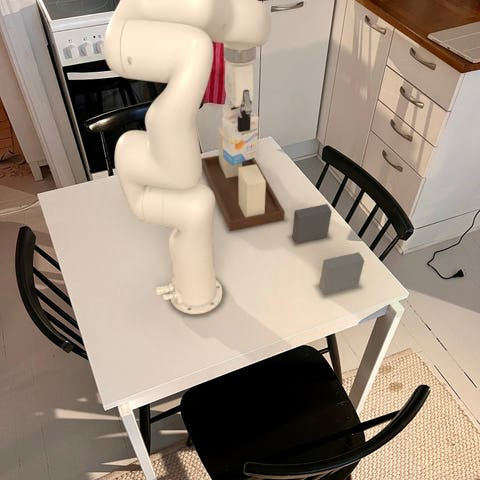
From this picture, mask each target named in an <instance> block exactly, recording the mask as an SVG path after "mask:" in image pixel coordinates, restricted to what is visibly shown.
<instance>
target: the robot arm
mask: <svg viewBox="0 0 480 480" xmlns="http://www.w3.org/2000/svg"><path fill="white" fill-rule="evenodd" d="M271 16H272V15H271V12H270V10H269V8H268V7H267V5H266V4H265V3H263V2H262V1H260V0H119V2H118V4H117V6H116V8H115V10H114V12H113V13H112V15H111V17H110V19H109V22H108V24H107V27H106V30H105V33H104V38H103V54H104V59H105V62H106V65H107V66H108V68H109V69H110V71H112V73H114V74H115V75H116V76H119V77H122V78H124V79H129V80H137V81H145V82H154V83H162V84H167V85H166V87H165V88H164V89H163V91H162V92H160V94H159V95H158V96H157V97H156V98H155V99H154V100H153V102H152V103H151V104H150V106H149V107H148V110H147V111H146V113H145V117H144V124H145V129H146V130H138V129H137V130H136V129H135V130H134V129H133V130H128V131H126V132H123V134H122V135H120V136H119V138H118V140H117V142H116V145H115V150H114V167H115V172H116V173H115V174H116V177H117V179H118V183H119V184H120V187H121V188H120V189H121V191H122V193H123V196H124V199H125V202H126V205H127V208H128V210H129V212H130V215H132V216H133V218H134V219H136V220H138V221H140V222H142V223H143V222H144V223H147V224H153V225H160V226H165V227H169V228H173V230H172V232H171V233H170V236H169V239H168V247H169V254H170V260H171V266H172V274H173V277H172V278H171V282H170V283H168V284H167V285H164V286H163V285H160V286H156V287H155V292H156V295H157V296H161V295H162V298H163V302H164V301H165V302H166V301H169V300H170V301H171V303H172V305H173V306H174V307H175V308H176V309H177V310H179V311H180V312H182V313H185V314H189V315H201V314H205V313H208V312H211V311H212V310H214V309H215V308H216V307H218V306H219V304H220V303H221V301H222V299H223V287H222V285H221V283H220V282H219V280H218V279H216V269H215V268H216V267H215V252H214V235H213V233H214V232H213V231H214V217H215V213H216V212H215V211H216V198H215V196H214V193H213V191H212V189H211V187H209V186H208V185H206V184H204V183H203V182H202V183H201V182H200V181H201V179H202V174H203V168H202V160H201V158H202V153H201V146H200V139H199V132H198V124H197V118H198V113H199V110H200V107H201V104H202V101H203V99H204V97H205V93H206V90H207V86H208V83H209V81H210V76H211V72H212V68H213V63H214V43H219V44H223V60H224V92H225V94H226V96H227V98H228V100H229V102H230V104H233V106H234V107H233V108H231V110H234V109H237V108H238V111H239V117H238V132H244V131H249V130H250V117H251V112H252V111H253V109H252V105H253V104H254V96H255V95H254V94H255V86H254V85H255V83H254V82H255V81H254V79H255V78H254V66H253V65H254V64H253V63H254V62H255V61H256V60H257V48H260V47H263V46H264V45H266V43H267V42H268V40H269V38H270V35H271V31H272V17H271ZM213 42H214V43H213ZM243 101H244V104H241V103H242V102H243ZM241 107H245V110H243V111H242V109H241Z"/></svg>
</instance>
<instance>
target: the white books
mask: <svg viewBox="0 0 480 480" xmlns="http://www.w3.org/2000/svg"><path fill="white" fill-rule="evenodd" d="M217 141H218V142H217V143H218V156H219V164H220V166H221V168H222V170H223V172H224V174H225V176H226V178H229V177H235V176H238V177H239V206H240V208H241V210H242V212H243V214H244V216H245V218H246V217H251V216H256V215H261V214H264V212H265V189H266V181H265V179H264V177H263V175H264V174H263V175H262V174H261V172H260V170H259V168H260V167H259V168H258V167H257V165H256V164H255V165H249V166H244V167H242V162H241V163H238V164H235V165H233V166H232V165H231V164H230V163H229V162H228V161H227V160H225V159H224V158H223V133H222V126H219V127H217Z"/></svg>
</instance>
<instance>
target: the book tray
mask: <svg viewBox="0 0 480 480" xmlns="http://www.w3.org/2000/svg"><path fill="white" fill-rule="evenodd" d="M201 160H202V172H203V173H204V175H205V178H206V181H207V182H208V184H209V186H210V187H209V188H210V189H211V190H212V191H213V193H214V196H215V201H216V203H217V206H218V207H219V209H220V212H221V214H222V217H223V219H224V221H225V223H226V225H227V228H228V231H229V232H231V231H237V230H242V229H247V228H252V227H256V226H262V225H267V224H272V223H277V222H281V221H284V220H285V210H284V209H283V207H282V204H281V203H280V201H279V200H278V198H277V196H276V194H275V193H274V190H273V189H272V187H271V185H270V184H269V182H268V180H267V178H266V177H265V175H264V172H263V171H262V169H261V168H260V165H259V164H258V162H257V160H256V159H255V158H252V159H249V160H246V161H244V162H242V167H244V166H249V165H255V164H256V165H257V167H258V168H259V170H260V172H261V174H262V175H263V177H264V179H265V181H266V189H265V212H264V214H261V215H256V216H251V217H246V218H245V216H244V214H243V212H242V210H241V208H240V206H239V177H238V176H235V177H229V178H226V176H225V174H224V172H223V170H222V168H221V166H220V164H219V155H213V156H208V157H207V156H206V157H201Z"/></svg>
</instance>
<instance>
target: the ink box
mask: <svg viewBox="0 0 480 480" xmlns="http://www.w3.org/2000/svg"><path fill="white" fill-rule="evenodd" d="M241 104H244V101H243V102H242V103H241ZM233 107H234V106H233V104H232V103H229V104H226V105H223V106H222V108H221V109H222V110H221V111H222V118H221V127H222V133H223V158H224V159H225V160H227V161H228V162H229V163H230V164H231V165H232V166H233V165H235V164H238V163H241V162H244V161H246V160H249V159H252V158H254V159H255V158H257V157H258V148H259V120H260V119H259V118H260V117H259V116H258V115H256V114H255V113H254V112H251V117H250V130H249V131H244V132H238V117H239V111H238V108H237V109H234V110H231V108H233ZM241 109H242V111H243V110H245V107H241Z"/></svg>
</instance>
